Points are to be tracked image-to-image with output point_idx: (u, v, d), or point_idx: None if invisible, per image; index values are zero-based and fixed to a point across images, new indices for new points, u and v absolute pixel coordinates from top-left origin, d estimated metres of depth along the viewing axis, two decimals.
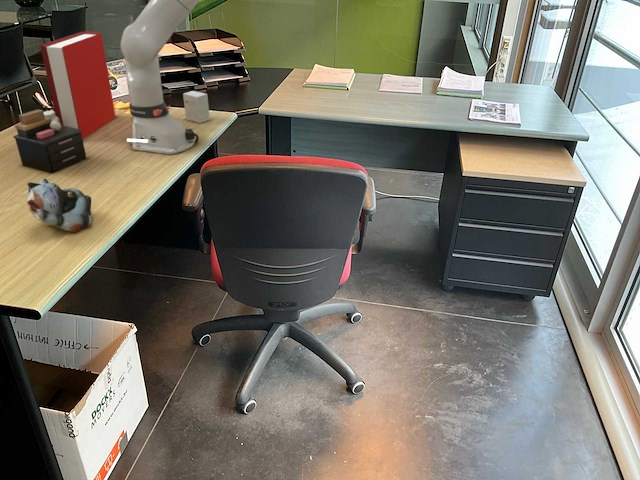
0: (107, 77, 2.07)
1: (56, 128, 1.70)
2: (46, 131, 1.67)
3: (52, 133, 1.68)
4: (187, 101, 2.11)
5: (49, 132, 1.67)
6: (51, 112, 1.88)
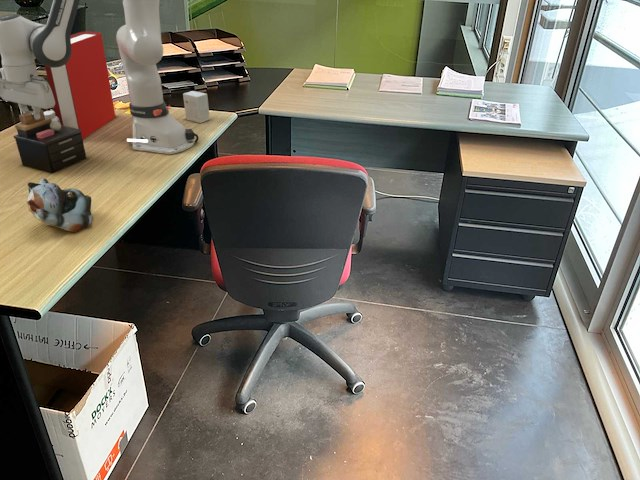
0: (107, 77, 2.07)
1: (56, 128, 1.70)
2: (46, 131, 1.67)
3: (52, 133, 1.68)
4: (187, 101, 2.11)
5: (49, 132, 1.67)
6: (51, 112, 1.88)
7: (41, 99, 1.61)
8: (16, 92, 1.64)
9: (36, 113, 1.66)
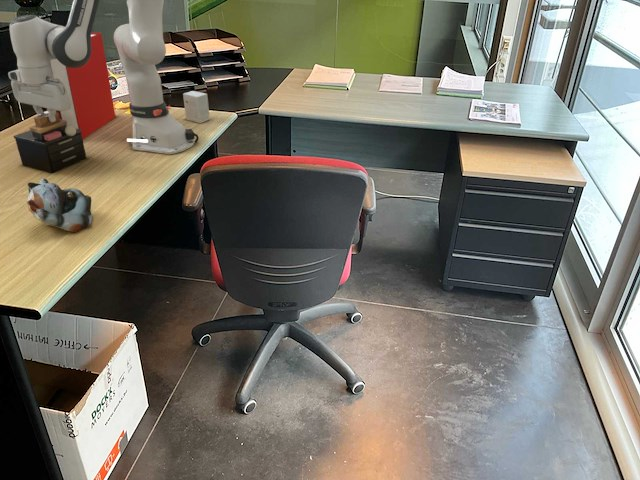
0: (107, 77, 2.07)
1: (67, 127, 1.67)
2: (54, 133, 1.66)
3: (60, 135, 1.67)
4: (187, 101, 2.11)
5: (57, 134, 1.66)
6: None
7: (57, 102, 1.58)
8: (32, 94, 1.61)
9: (51, 115, 1.64)
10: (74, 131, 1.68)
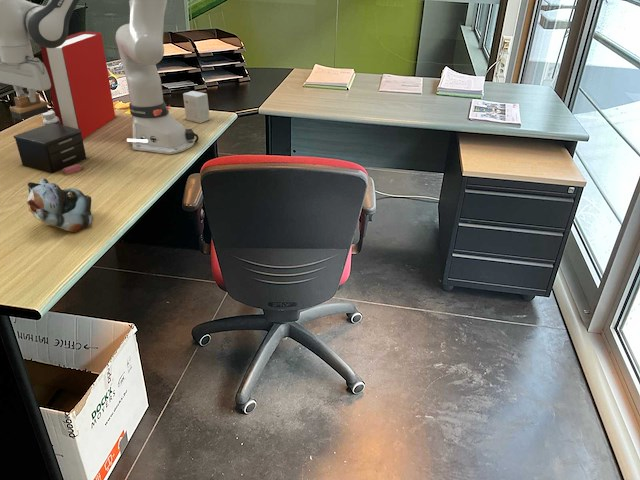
0: (107, 77, 2.07)
1: None
2: (73, 166, 1.69)
3: (79, 169, 1.70)
4: (187, 101, 2.11)
5: (76, 168, 1.69)
6: (51, 112, 1.88)
7: (36, 81, 1.58)
8: (11, 74, 1.61)
9: (32, 96, 1.64)
10: None
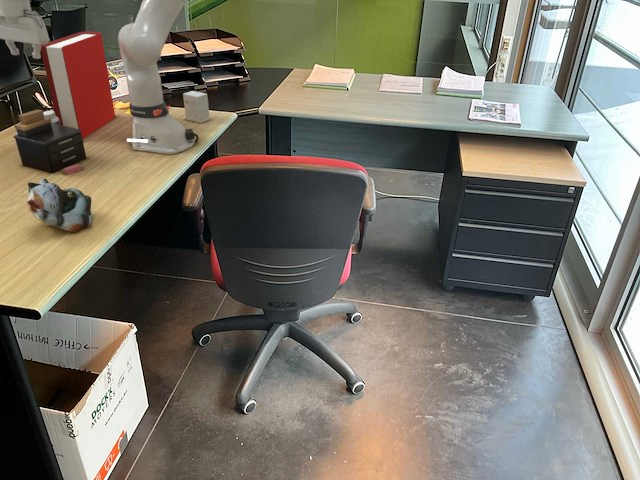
0: (107, 77, 2.07)
1: None
2: (73, 166, 1.69)
3: (79, 169, 1.70)
4: (187, 101, 2.11)
5: (76, 168, 1.69)
6: (51, 112, 1.88)
7: (34, 35, 1.59)
8: (10, 29, 1.63)
9: (36, 52, 1.64)
10: None
